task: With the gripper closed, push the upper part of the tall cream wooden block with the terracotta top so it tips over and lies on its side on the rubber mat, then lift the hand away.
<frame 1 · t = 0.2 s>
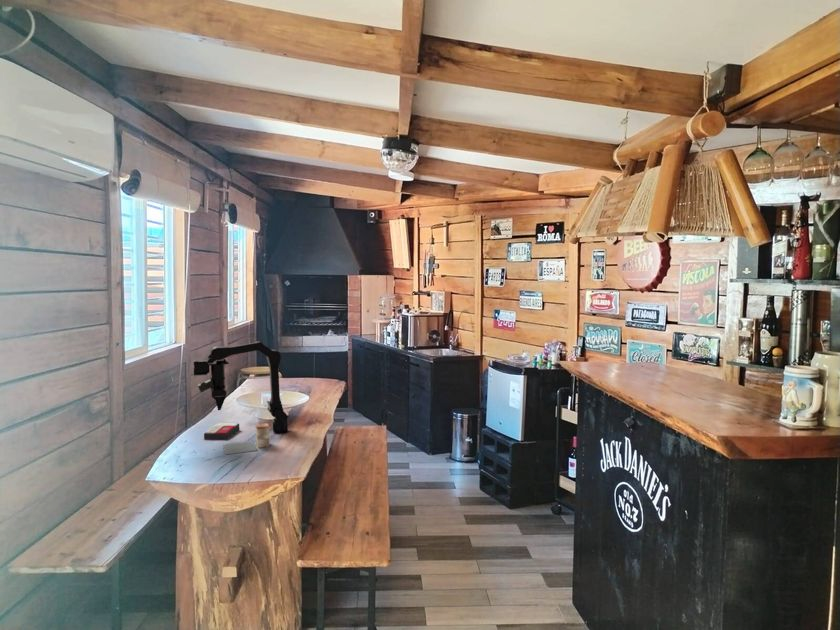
hand: (218, 407, 244), 14 cm above the table, tool pointing down, fingers open, 9 cm apart
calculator: (222, 435, 251), on the table
mat: (240, 447, 232), on the table
block: (262, 445, 236), on the table
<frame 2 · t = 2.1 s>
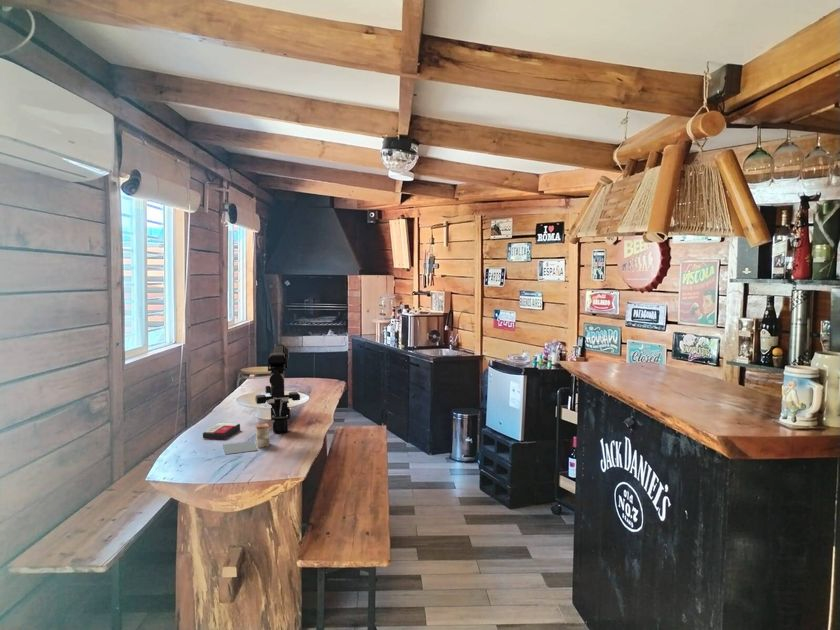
hand: (278, 416, 238), 12 cm above the table, tool pointing down, fingers closed
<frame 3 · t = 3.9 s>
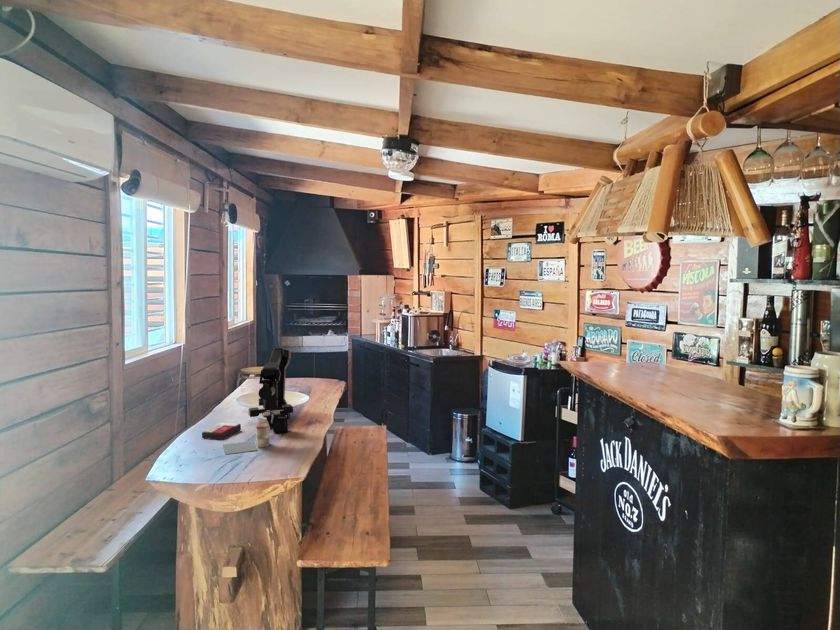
hand: (271, 429, 237), 7 cm above the table, tool pointing down, fingers closed
block: (262, 445, 236), on the table, touching gripper
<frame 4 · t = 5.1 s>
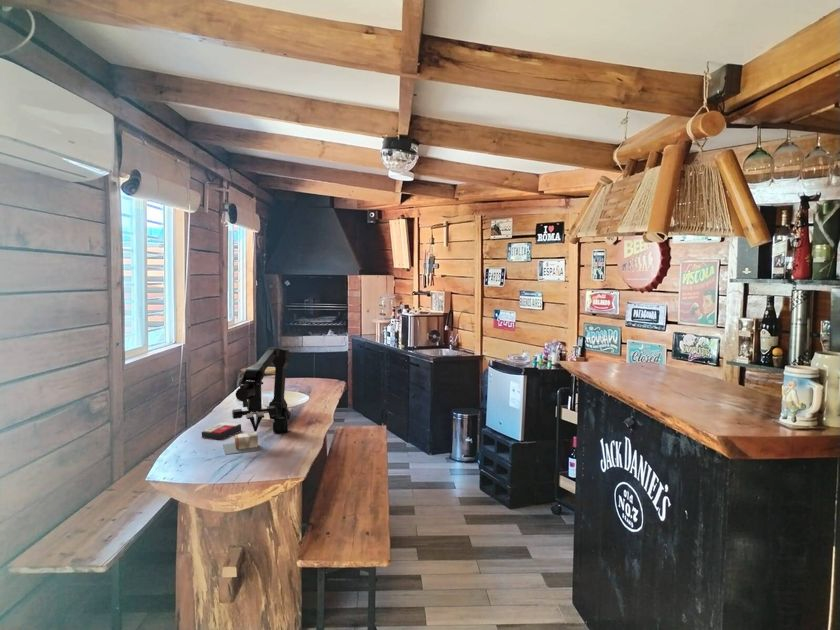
hand: (255, 431, 234), 7 cm above the table, tool pointing down, fingers closed
block: (257, 439, 234), point 3 cm above the table, tilted 90°, touching mat
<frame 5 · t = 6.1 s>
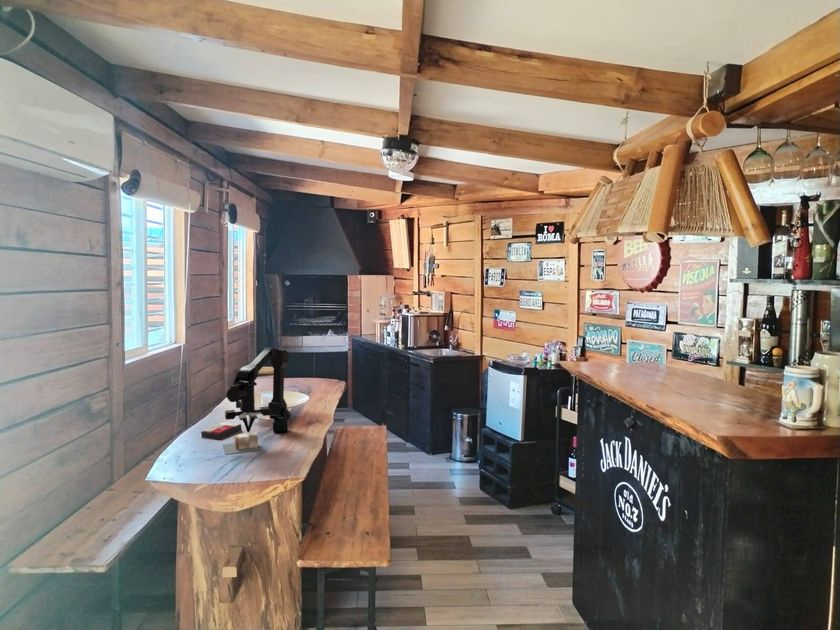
hand: (248, 432, 233), 7 cm above the table, tool pointing down, fingers closed
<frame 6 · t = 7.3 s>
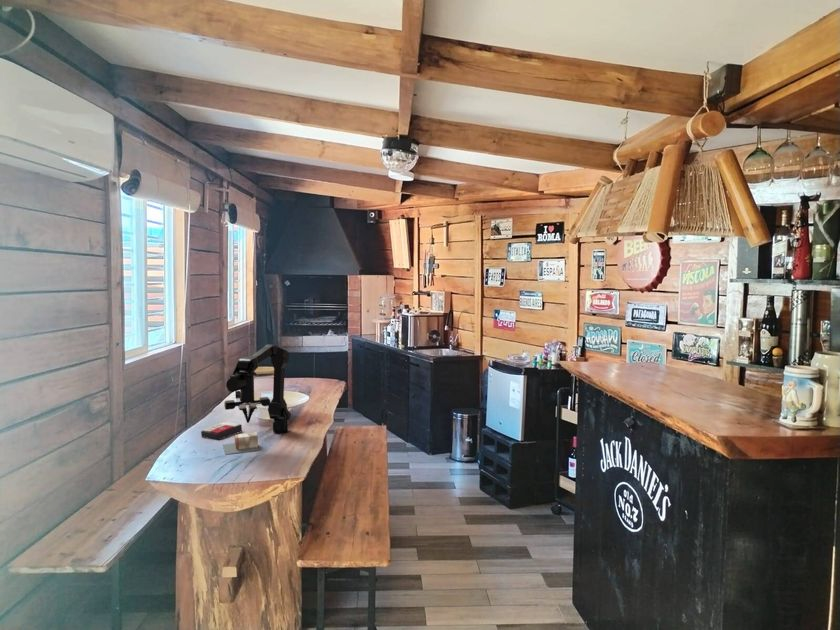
hand: (247, 422, 232), 11 cm above the table, tool pointing down, fingers closed
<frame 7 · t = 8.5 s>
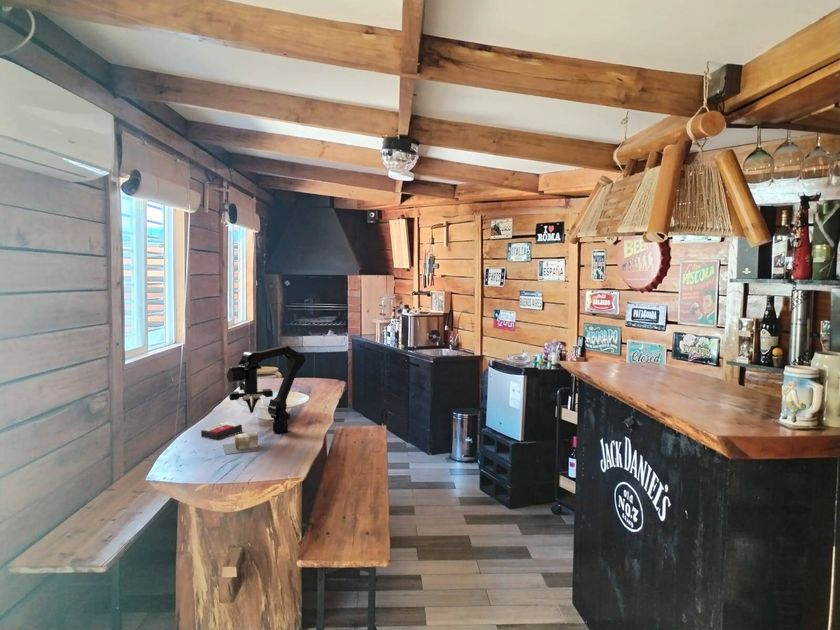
hand: (251, 412, 244), 12 cm above the table, tool pointing down, fingers closed
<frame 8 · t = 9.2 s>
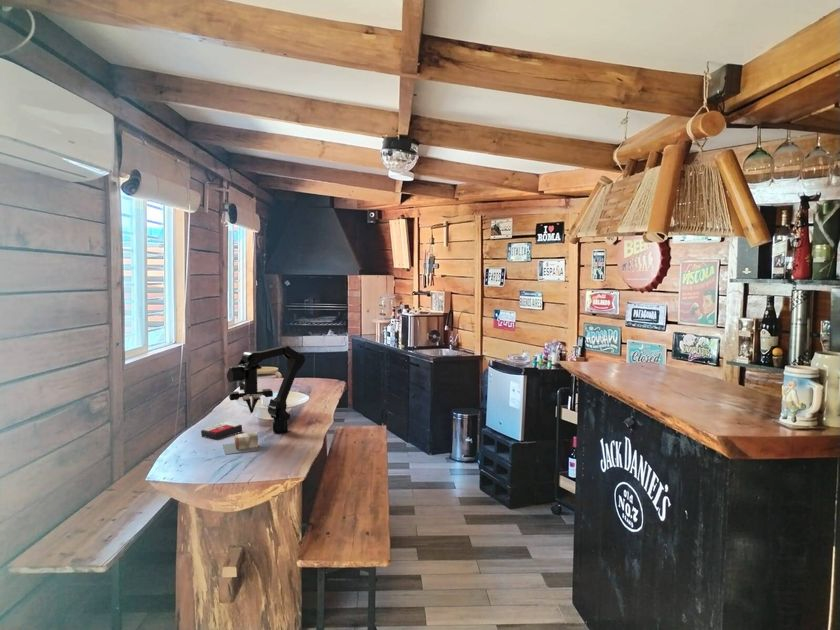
hand: (251, 412, 244), 12 cm above the table, tool pointing down, fingers closed
at the end: block tilted 90°; block touching mat; block inside the target area (2.1 cm from its centre), point 2.8 cm above the table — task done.
